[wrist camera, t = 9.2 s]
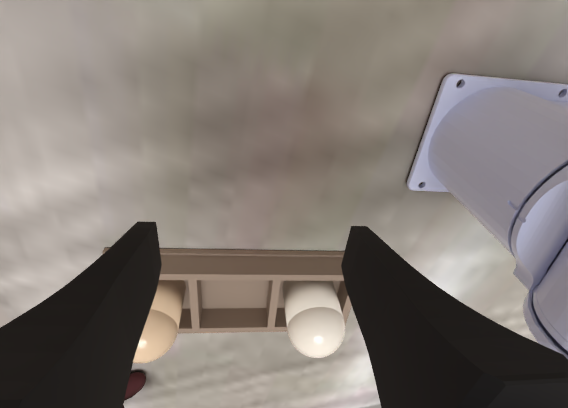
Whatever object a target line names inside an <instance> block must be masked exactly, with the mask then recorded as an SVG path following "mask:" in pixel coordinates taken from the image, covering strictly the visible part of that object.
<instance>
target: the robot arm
mask: <svg viewBox="0 0 568 408" xmlns="http://www.w3.org/2000/svg"><path fill="white" fill-rule="evenodd" d="M459 80H461V84H460V85H459V86H458V87H456V84H457V82H458V81H459ZM561 90H562V92H561V93H560V91H561ZM559 93H560V94H559ZM421 182H423V183H422V184H421V185H419V183H421ZM407 187H408V188H409V189H410V190H415V191H438V192H450V193H451V194H452V195H453V196H454V197H455V198H456V199H457V200H458V201H459V202H460V203H461V204H462V205H463V206H464V207H465V208H466V209H467V210H468V211H469V212H470V213H471V214H472V215H473V216H474V217H475V218H476V219H477V220H478V221H479V222H480V223H481V224H482V225H483V226H484V227H485V228H486V229H487V230H488V231H489V232H490V233H491V234H492V235H493V236H494V237H495V238H496V239H497V240H498V241H499V242H500V243H501V244H502V245H503V246H504V247H505V248H506V249H507V250H508V251H509V252H510V253H511V254H512V255H513V256H514V257H515V258H516V268H515V270H514V272H513V274H514V275H515V276H516V277H517V278H518V279H519V280H520V281H521V282H522V283H523V285H524V286H525V287H526V288H527V289H528V290H529V293H528V294H527V296H526V297H525V300H524V304H523V313H524V317H525V321H526V323H527V325H528V327H529V329H530V331H531V333H532V334H533V336H534V337H535V339H536V340H537V342H538V343H536V342H534V341H532V340H530V339H527V338H525V337H523V336H521V335H519V334H517V333H515V332H513V331H511V330H509V329H507V328H505V327H503V326H501V325H499V324H497V323H496V322H494V321H492V320H490V319H488V318H486V317H485V316H483V315H481V314H480V313H478V312H476V311H475V310H473V309H471V308H469V307H468V306H466V305H464V304H463V303H461V302H460V301H458V300H457V299H455V298H454V297H452V296H451V295H449V294H448V293H446V292H445V291H443V290H442V289H440V288H439V287H438V286H436V285H435V284H433V283H432V282H431V281H429V280H428V279H427V278H426V277H424V276H423V275H422V274H421V273H419V272H418V271H417V270H416V269H414V268H413V267H412V266H411V265H410V264H408V263H407V262H406V261H405V260H404V259H403V258H401V257H400V256H399V255H398V254H397V253H396V252H395V251H394V250H392V249H391V248H390V247H389V246H388V245H387V244H386V243H385V242H384V241H383V240H381V239H380V238H379V237H378V236H377V235H376V234H375V233H374V232H373V231H372V230H370V229H369V228H368V227H367V226H351V230H350V234H349V237H348V241H347V245H346V249H345V252H344V256H343V260H342V264H341V268H342V273H343V278H344V282H345V287H346V290H347V293H348V296H349V299H350V302H351V304H352V307H353V310H354V313H355V315H356V318H357V321H358V324H359V326H360V329H361V332H362V335H363V337H364V340H365V343H366V346H367V350H368V353H369V357H370V361H371V365H372V369H373V373H374V377H375V381H376V385H377V390H378V394H379V398H380V403H381V407H382V408H568V84H561V83H550V82H540V81H529V80H519V79H508V78H498V77H487V76H477V75H467V74H456V73H451V74H448V75H447V76H446V77H445V78H444V79H443V81H442V84H441V86H440V89H439V92H438V95H437V98H436V101H435V103H434V106H433V109H432V112H431V115H430V118H429V121H428V123H427V126H426V129H425V132H424V135H423V138H422V140H421V143H420V146H419V149H418V152H417V155H416V158H415V160H414V163H413V166H412V169H411V172H410V175H409V178H408V180H407ZM161 266H162V263H161V255H160V248H159V241H158V234H157V226H156V222H137V223H136V224H135V225H134V226H133V227H132V228H130V229H129V230H128V231H127V232H126V233H125V234H124V235H123V236H122V237H121V238H120V239H119V240H118V241H117V242H116V243H115V244H114V245H113V246H112V247H111V248H109V249H108V250H107V251H106V252H105V253H104V254H103V255H102V256H101V257H100V258H98V259H97V260H96V261H95V262H94V263H93V264H92V265H90V266H89V267H88V268H87V269H86V270H84V271H83V272H82V273H81V274H80V275H78V276H77V277H76V278H75V279H73V280H72V281H71V282H70V283H68V284H67V285H66V286H64V287H63V288H62V289H60V290H59V291H57V292H56V293H54V294H53V295H52V296H50V297H49V298H47V299H46V300H44V301H43V302H41V303H40V304H38V305H37V306H35V307H34V308H32V309H30V310H29V311H27V312H25V313H24V314H22V315H21V316H19V317H17V318H16V319H14V320H12V321H11V322H9V323H8V324H6V325H4V326H3V327H1V328H0V408H123V403H124V399H125V394H126V389H127V385H128V381H129V377H130V372H131V368H132V364H133V360H134V356H135V353H136V350H137V347H138V344H139V341H140V338H141V335H142V332H143V329H144V326H145V323H146V320H147V318H148V315H149V312H150V309H151V306H152V303H153V300H154V297H155V294H156V291H157V286H158V282H159V277H160V272H161Z"/></svg>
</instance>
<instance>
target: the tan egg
mask: <svg viewBox="0 0 568 408" xmlns="http://www.w3.org/2000/svg"><path fill="white" fill-rule="evenodd" d="M185 290H186V284H185V281H184V280H159V282H158V286H157V291H156V294H155V297H154V300H153V303H152V306H151V309H150V312H149V315H148V318H147V320H146V323H145V326H144V329H143V332H142V335H141V338H140V341H139V344H138V347H137V350H136V353H135V356H134V360H133V363H148V362H151V361H154V360H156V359H158V358H160V357H161V356H163V355H164V354H165V353H166V352H167V351H168V350H169V349H170V348H171V346H172V345H173V343H174V341H175V339H176V337H177V333H178V328H179V323H180V317H181V312H182V307H183V301H184V296H185Z"/></svg>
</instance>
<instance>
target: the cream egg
mask: <svg viewBox="0 0 568 408" xmlns="http://www.w3.org/2000/svg"><path fill="white" fill-rule="evenodd" d="M283 297H284V306H285V314H286V323H287V331H288V336H289V338H290V341H291V343H292V344H293V346H294V347H295V348H296V349H297V350H298V351H299V352H300V353H302V354H304V355H306V356H308V357H312V358H322V357H326V356H328V355H330V354H332V353H333V352H335V351H336V350H337V349H338V348H339V346H340V345H341V343H342V341H343V339H344V335H345V322H344V318H343V314H342V311H341V307H340V304H339V300H338V297H337V293H336V290H335V287H334V283H333V281H284V283H283Z"/></svg>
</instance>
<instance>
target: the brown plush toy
mask: <svg viewBox="0 0 568 408" xmlns="http://www.w3.org/2000/svg"><path fill="white" fill-rule="evenodd" d="M145 382H146V376H145V375H144V373H141V372H135V373H131V374H130V377H129V381H128V385H127V389H126V394H125V399H124V400H127V399H129V398H131V397H132V396H134V395H135V394H136V393H137V392H139V391H140V390H141V389H142V387H143V386H144V384H145ZM123 408H124V405H123Z"/></svg>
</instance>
